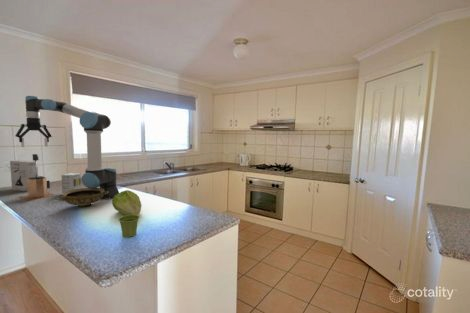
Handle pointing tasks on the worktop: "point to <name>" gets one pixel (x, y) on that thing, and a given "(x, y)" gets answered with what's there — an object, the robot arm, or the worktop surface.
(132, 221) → the plant pot
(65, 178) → the supplement box
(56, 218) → the worktop surface
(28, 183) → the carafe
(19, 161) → the cereal box
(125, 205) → the lettuce
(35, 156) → the plunger
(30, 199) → the trivet
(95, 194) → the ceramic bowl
